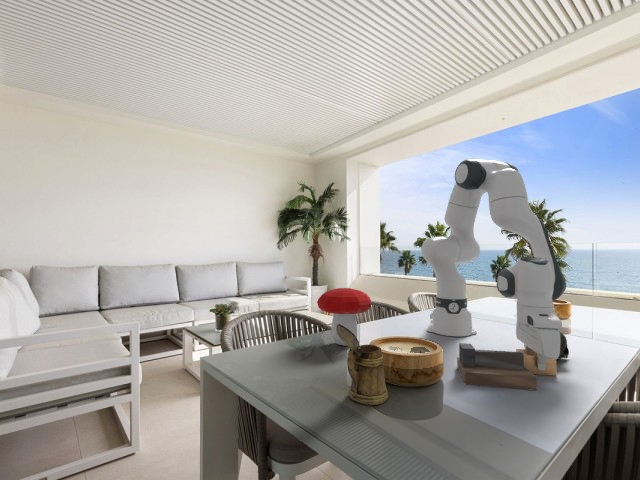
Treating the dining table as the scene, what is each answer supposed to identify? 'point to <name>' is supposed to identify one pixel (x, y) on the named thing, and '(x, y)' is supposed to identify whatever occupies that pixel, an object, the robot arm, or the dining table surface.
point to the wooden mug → (364, 370)
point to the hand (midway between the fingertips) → (535, 364)
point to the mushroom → (344, 308)
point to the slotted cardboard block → (531, 360)
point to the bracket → (494, 368)
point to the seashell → (563, 347)
